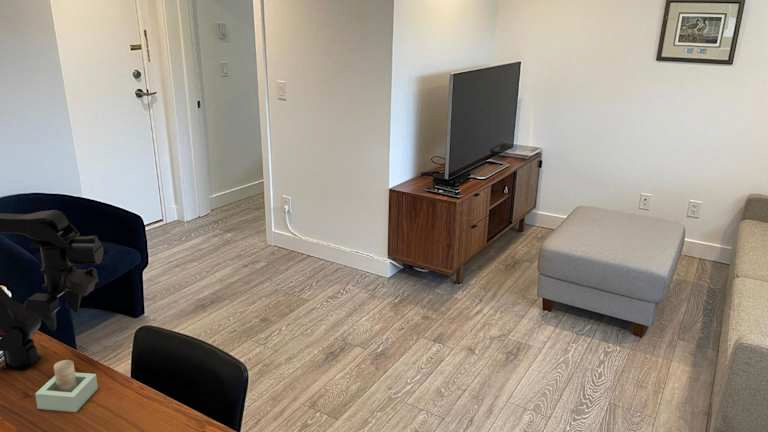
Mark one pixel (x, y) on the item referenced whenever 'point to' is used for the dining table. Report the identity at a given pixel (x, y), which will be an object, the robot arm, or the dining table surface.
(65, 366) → the peg
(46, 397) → the socket
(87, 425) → the dining table surface
